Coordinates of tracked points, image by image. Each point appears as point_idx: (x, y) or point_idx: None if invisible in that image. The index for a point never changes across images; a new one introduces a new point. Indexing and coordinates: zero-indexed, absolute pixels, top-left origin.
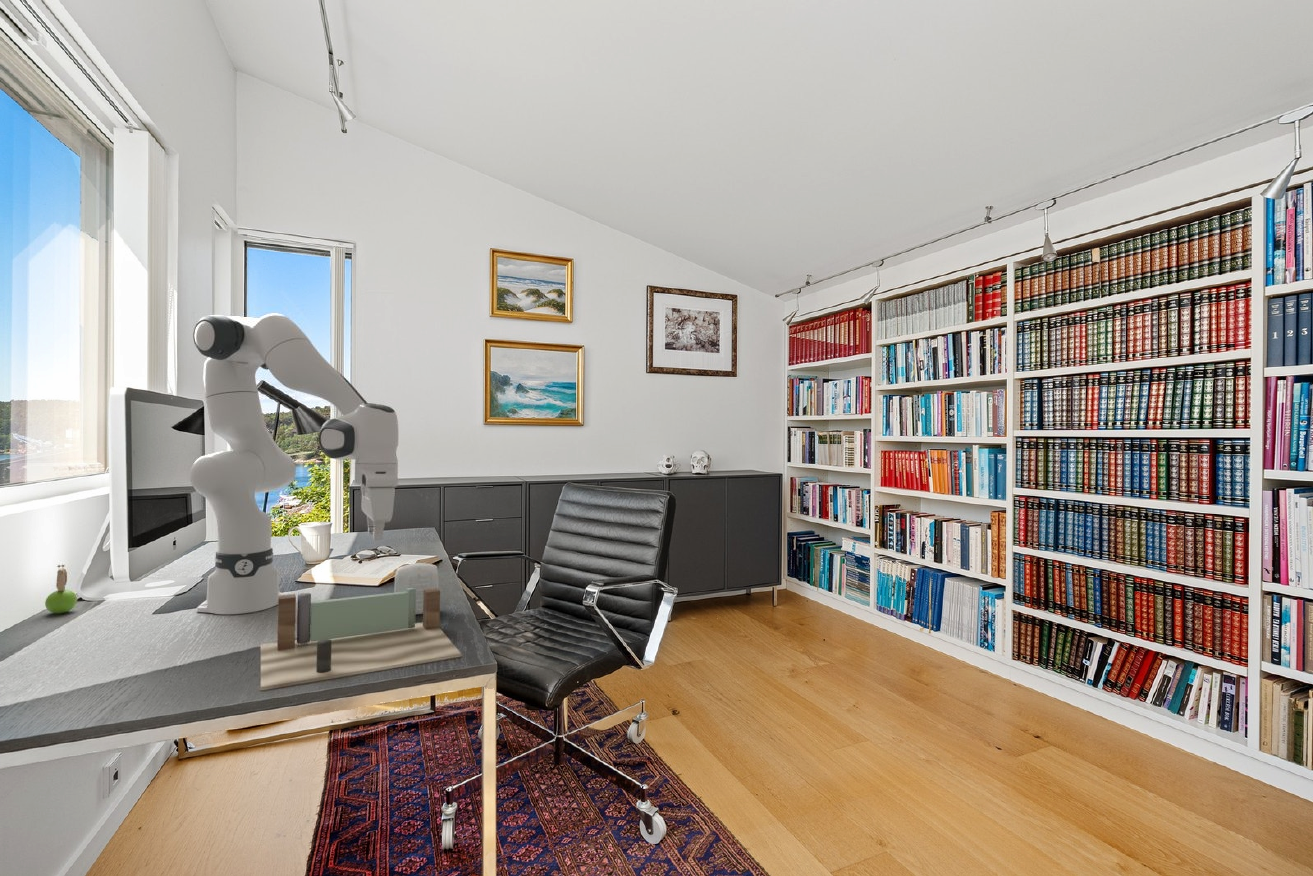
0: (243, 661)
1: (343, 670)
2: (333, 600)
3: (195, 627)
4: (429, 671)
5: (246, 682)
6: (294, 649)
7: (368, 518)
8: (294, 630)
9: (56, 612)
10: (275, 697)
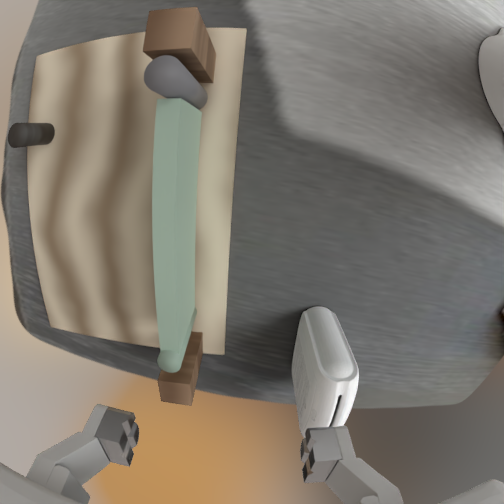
0: None
1: (35, 163)
2: (160, 160)
3: None
4: (18, 272)
5: (77, 30)
6: None
7: (359, 502)
8: None
9: None
10: (15, 80)
